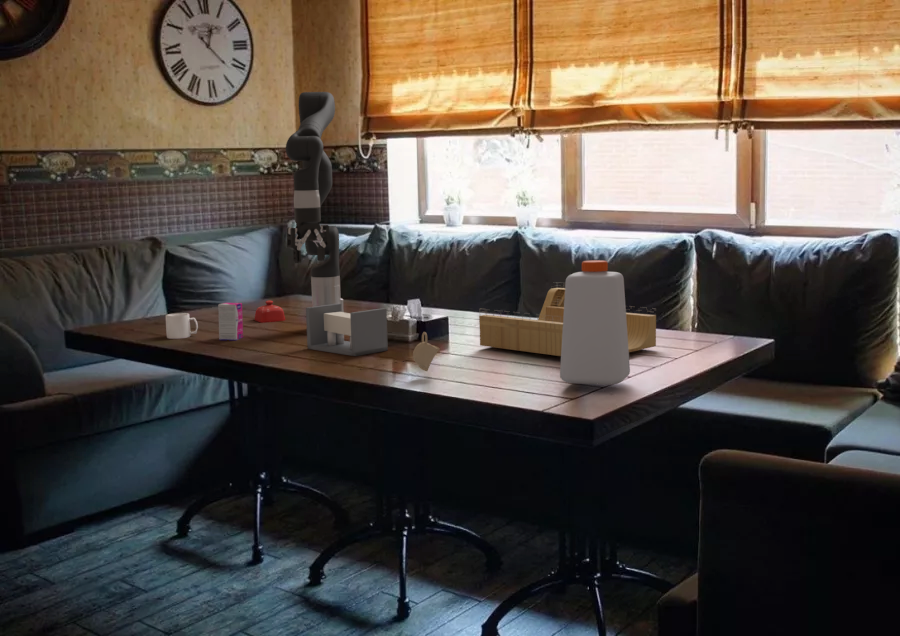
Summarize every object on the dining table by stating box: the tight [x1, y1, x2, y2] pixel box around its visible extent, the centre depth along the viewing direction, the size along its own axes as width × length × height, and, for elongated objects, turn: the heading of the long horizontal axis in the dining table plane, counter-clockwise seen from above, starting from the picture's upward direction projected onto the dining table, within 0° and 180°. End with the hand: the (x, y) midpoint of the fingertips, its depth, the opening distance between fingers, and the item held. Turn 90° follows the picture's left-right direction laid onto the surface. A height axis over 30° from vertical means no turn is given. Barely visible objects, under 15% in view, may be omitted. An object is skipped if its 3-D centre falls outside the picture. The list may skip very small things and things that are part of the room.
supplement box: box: [218, 302, 244, 342], centre depth 314 cm, size 6×6×12 cm
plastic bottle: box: [559, 259, 631, 386], centre depth 238 cm, size 15×15×28 cm
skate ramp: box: [478, 281, 657, 357], centre depth 287 cm, size 40×35×16 cm
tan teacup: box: [412, 331, 441, 372], centre depth 254 cm, size 4×8×5 cm
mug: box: [165, 312, 199, 340], centre depth 321 cm, size 10×7×8 cm
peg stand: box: [305, 304, 389, 357], centre depth 290 cm, size 22×12×12 cm, turn 45°
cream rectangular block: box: [324, 311, 351, 337], centre depth 290 cm, size 16×6×5 cm, turn 37°
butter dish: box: [254, 299, 286, 324], centre depth 348 cm, size 12×12×8 cm
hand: (309, 261), depth 296 cm, fingers open, 8 cm apart
